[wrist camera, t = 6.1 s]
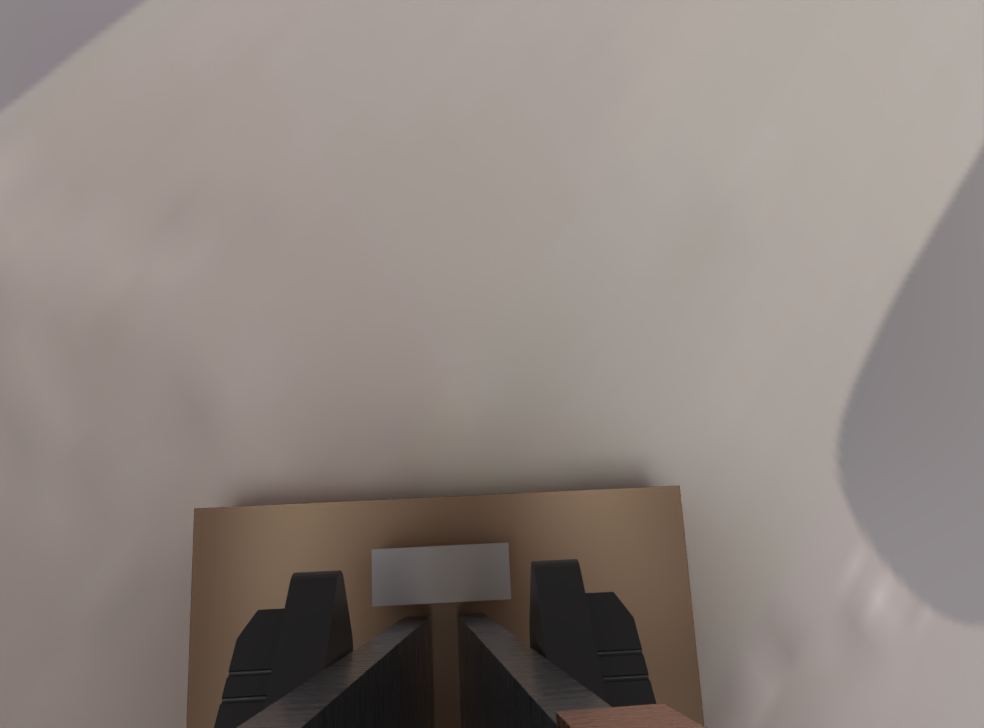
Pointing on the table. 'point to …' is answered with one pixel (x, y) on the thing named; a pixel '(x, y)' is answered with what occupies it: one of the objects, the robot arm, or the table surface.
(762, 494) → the table surface
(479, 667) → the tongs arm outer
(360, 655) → the bar
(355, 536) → the stand
